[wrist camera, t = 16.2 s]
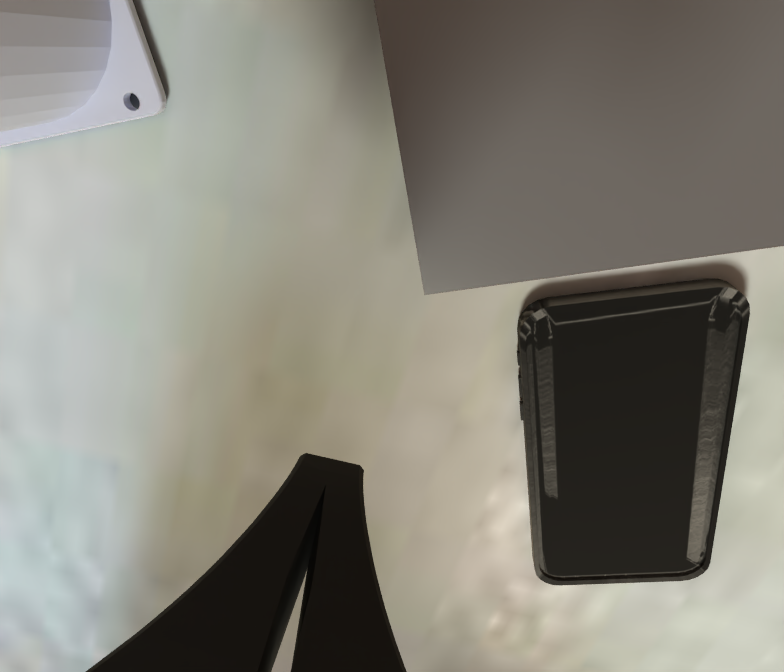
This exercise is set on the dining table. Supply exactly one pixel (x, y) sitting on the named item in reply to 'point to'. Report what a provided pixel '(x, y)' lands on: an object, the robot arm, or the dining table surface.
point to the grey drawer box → (585, 132)
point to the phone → (628, 428)
